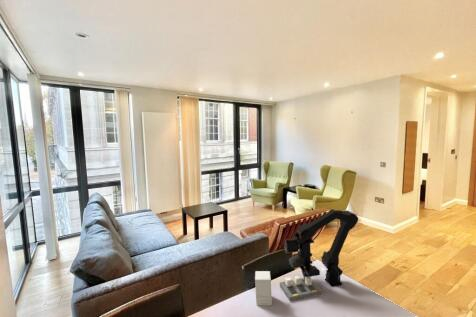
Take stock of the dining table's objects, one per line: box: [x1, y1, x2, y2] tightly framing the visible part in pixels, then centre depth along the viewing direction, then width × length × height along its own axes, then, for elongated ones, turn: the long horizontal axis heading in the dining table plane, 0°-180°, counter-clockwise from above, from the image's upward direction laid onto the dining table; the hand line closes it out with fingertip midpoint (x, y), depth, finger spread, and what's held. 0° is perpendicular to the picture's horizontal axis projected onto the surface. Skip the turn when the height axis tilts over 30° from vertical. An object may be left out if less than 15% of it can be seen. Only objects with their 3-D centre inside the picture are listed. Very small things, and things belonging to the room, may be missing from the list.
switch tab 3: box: [305, 276, 313, 286], centre depth 118 cm, size 2×2×3 cm
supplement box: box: [254, 270, 273, 307], centre depth 110 cm, size 7×7×13 cm
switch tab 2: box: [293, 275, 301, 285], centre depth 119 cm, size 2×2×3 cm
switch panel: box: [278, 277, 323, 302], centre depth 117 cm, size 17×12×2 cm
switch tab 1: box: [284, 276, 293, 287], centre depth 118 cm, size 2×2×3 cm
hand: (305, 279), depth 121 cm, fingers closed
